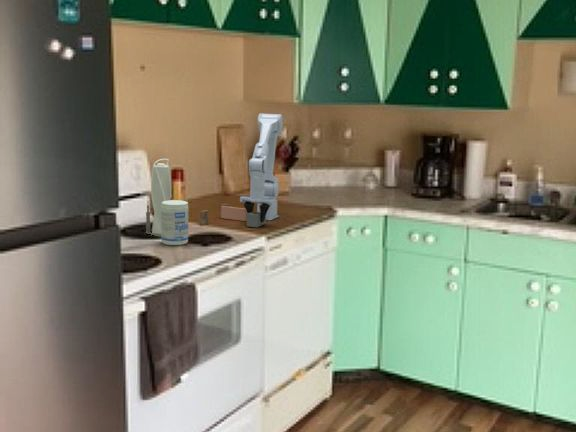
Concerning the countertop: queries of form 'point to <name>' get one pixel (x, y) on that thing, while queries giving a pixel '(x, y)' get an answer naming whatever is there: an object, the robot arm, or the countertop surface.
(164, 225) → the supplement tub
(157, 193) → the skyscraper
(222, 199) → the countertop surface
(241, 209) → the door
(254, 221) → the block
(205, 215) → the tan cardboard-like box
